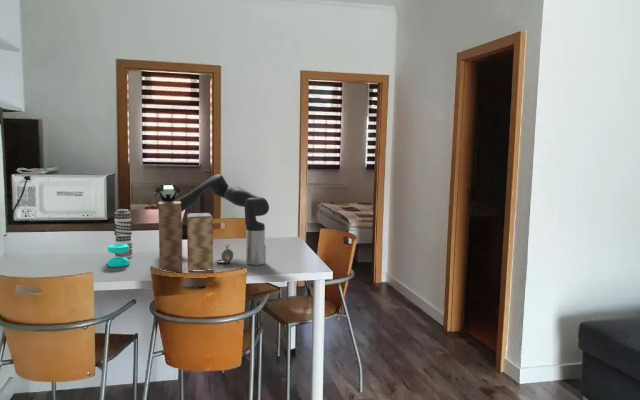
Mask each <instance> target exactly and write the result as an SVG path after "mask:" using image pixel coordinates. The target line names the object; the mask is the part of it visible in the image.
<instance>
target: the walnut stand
mask: <svg viewBox="0 0 640 400" xmlns="http://www.w3.org/2000/svg"><path fill="white" fill-rule="evenodd" d="M182 224H183V223H182V212H181V201H176V200H175V201H168V202H161V201H158V242H159V243H158V250H159V251H158V252H159V254H158V255H159V270H160V269H161V270H166V271H177V272H176V273H180V271H182V272H183V231H182V230H183V229H182Z"/></svg>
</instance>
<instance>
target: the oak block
mask: <svg viewBox="0 0 640 400" xmlns="http://www.w3.org/2000/svg"><path fill="white" fill-rule="evenodd" d="M213 223H214V217H213V216H212V215H211V213H210V212H198V213H197V212H195V213H193V212H192V213H191V212H190V213H187V215H186V234H187V235H186V236H187V237H186V238H187V247H186V248H187V269H188V268H189V269H188V272H189V271H193V270H208V269H213V270H214V226H213V225H214V224H213Z"/></svg>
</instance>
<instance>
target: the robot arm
mask: <svg viewBox="0 0 640 400" xmlns="http://www.w3.org/2000/svg"><path fill="white" fill-rule="evenodd" d="M164 185H165V184H164V183H162V184H161V185H160V187H156V189H155V190H154V193H153V195H154V197H158V196H159V197H160V199H159V200H160V202H168V201H181V213H183V211H186V209H189V208H191V207H192V206H194V205H195V204H196V203H197V202H198V201H199V199H200V197H201V196H202V194H203V193H204V192H205V191H206V190H207V189H209V188H210V190H211V191H212V193H213V194H214V195H215V196H217V197H220V198H223V199H224V200H226V201H228V202H230V203H232V204H233V205H235V206H237V207H244V222H245V228H246V229H245V234H246V235H245V236H246V237H245V238H246V239H245V242H246V243H245V247H246V249H245V255H246V257H245V258H246V259H245V262H246V263H247V265H249V264H252V265H251V266H259V265H260V264H261V265H266V262H267V260H266V258H267V257H266V256H267V253H266V249H267V247H266V244H265V242H266V241H265V239H266V238H265V237H266V236H265V235H266V234H265V233H266V226H265V223H263V222H260V221H258V220H257V217H261V216H265V215H266V214H268V212H269V211H270V204H269V202H268V200H267V199H266V198H264V197H262V196H259V195H256V194H254V193H251V192H249V191H248V190H245V189H244V188H242V187H240V186H237V185H234V186H233V185H232V186H229V184H228V183H227V181H226V178H224V176H223V175H222V174H219V173H218V174H214V175H213V176H210V177H209V178H207V179H206V180H204V181H203V182H202V183H201V184H199V185H198V186H197V187H195V188H194V189H193V190H191V191H190V192H188V193H186V194H185V195H183V194H182V190H181V189H180V187H179V186H178V187H176V184H174V183H172V185H173V188H174V194H164V191H163V186H164ZM177 196H179V198H177V199H176V197H177ZM246 263H245V264H246Z"/></svg>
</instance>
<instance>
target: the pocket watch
mask: <svg viewBox="0 0 640 400" xmlns="http://www.w3.org/2000/svg"><path fill="white" fill-rule="evenodd" d="M229 247H230V244H229V243H228V244H226V245H225V249H224V250H223V251H222V253H221V259H218V260H216V263H217V264H219V263H226V264H229V263H231V261H232V260H233V258H234V252H233V251H232V249H230V248H229ZM222 260H223V261H224V262H218V261H222ZM228 262H229V263H228Z"/></svg>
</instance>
